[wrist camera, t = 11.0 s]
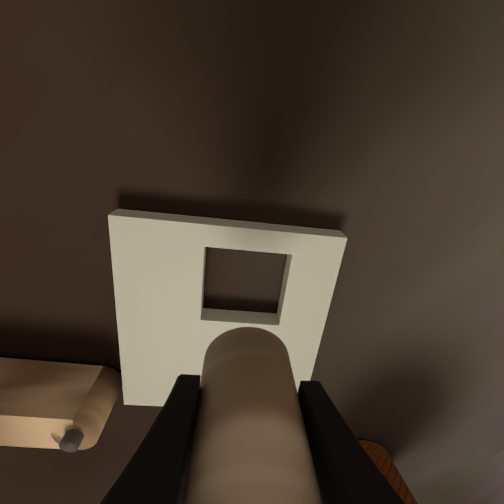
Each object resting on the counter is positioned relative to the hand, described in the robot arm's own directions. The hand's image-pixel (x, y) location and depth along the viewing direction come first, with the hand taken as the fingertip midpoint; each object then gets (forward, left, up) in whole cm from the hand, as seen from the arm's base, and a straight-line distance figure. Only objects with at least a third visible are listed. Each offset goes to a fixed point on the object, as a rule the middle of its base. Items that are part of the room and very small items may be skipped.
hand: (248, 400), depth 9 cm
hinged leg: (+8, -13, -8) cm, 17 cm away
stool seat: (+3, -1, -8) cm, 9 cm away
